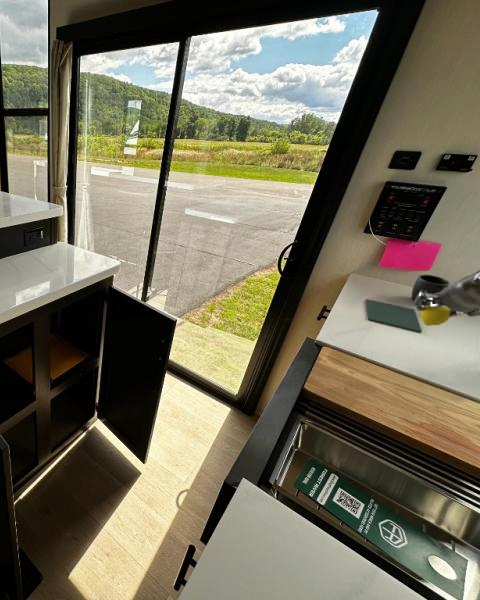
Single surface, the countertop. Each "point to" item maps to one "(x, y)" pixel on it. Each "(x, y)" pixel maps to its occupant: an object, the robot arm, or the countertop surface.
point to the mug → (429, 285)
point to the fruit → (435, 315)
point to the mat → (392, 315)
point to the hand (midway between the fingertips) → (434, 310)
